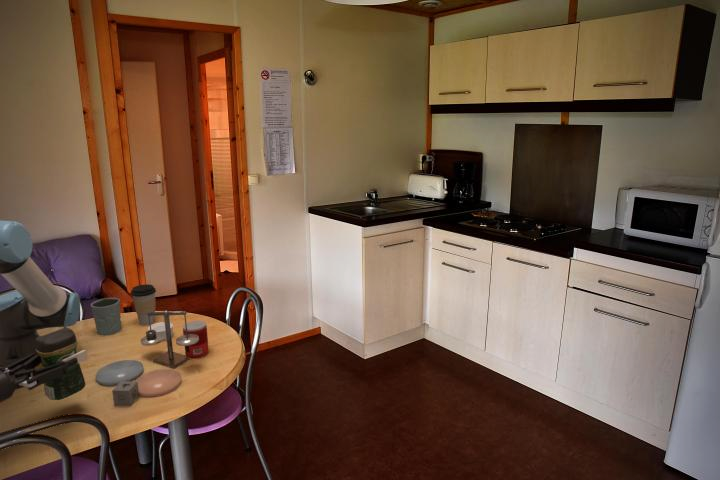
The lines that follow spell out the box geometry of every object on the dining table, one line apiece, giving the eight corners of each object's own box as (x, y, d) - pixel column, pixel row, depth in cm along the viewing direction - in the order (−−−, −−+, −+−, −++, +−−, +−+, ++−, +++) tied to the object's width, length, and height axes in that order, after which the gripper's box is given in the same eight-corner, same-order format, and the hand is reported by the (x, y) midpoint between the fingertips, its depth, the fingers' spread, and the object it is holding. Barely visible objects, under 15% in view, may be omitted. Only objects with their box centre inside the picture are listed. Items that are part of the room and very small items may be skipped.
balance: (138, 357, 171) (131, 304, 166) (154, 349, 177) (148, 297, 172) (190, 373, 160) (184, 317, 155) (205, 364, 166) (200, 309, 161)
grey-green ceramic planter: (99, 338, 185) (94, 309, 182) (91, 330, 193) (87, 301, 189) (127, 330, 192) (123, 302, 189) (118, 322, 199) (115, 295, 196)
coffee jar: (75, 380, 145) (65, 322, 140) (90, 388, 141) (80, 329, 136) (40, 395, 137) (28, 335, 132) (54, 404, 133) (42, 342, 128)
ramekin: (155, 331, 191) (154, 321, 190) (177, 332, 191) (176, 321, 190) (144, 342, 183) (143, 331, 181) (168, 342, 182) (167, 331, 181)
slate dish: (86, 379, 157) (85, 375, 156) (124, 360, 169) (123, 356, 169) (116, 390, 151) (115, 386, 150) (153, 369, 163) (152, 365, 162)
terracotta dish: (123, 390, 151) (122, 386, 150) (159, 369, 163) (159, 365, 162) (155, 401, 145) (155, 397, 144) (191, 379, 157) (190, 375, 156)
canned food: (213, 350, 176) (210, 322, 173) (197, 360, 169) (194, 331, 166) (197, 346, 179) (194, 318, 176) (180, 356, 172) (177, 327, 169)
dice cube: (139, 396, 148) (137, 381, 147) (131, 405, 143) (129, 390, 142) (123, 395, 148) (121, 381, 147) (114, 405, 143) (112, 390, 142)
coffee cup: (150, 328, 194) (146, 292, 190) (129, 326, 196) (124, 290, 192) (164, 318, 203) (160, 284, 199) (143, 316, 205) (139, 282, 201)
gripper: (-32, 393, 126) (55, 354, 146) (16, 415, 117) (102, 371, 137) (-38, 367, 124) (51, 331, 144) (10, 388, 115) (98, 346, 135)
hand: (75, 351), depth 140 cm, fingers closed on coffee jar, 8 cm apart
